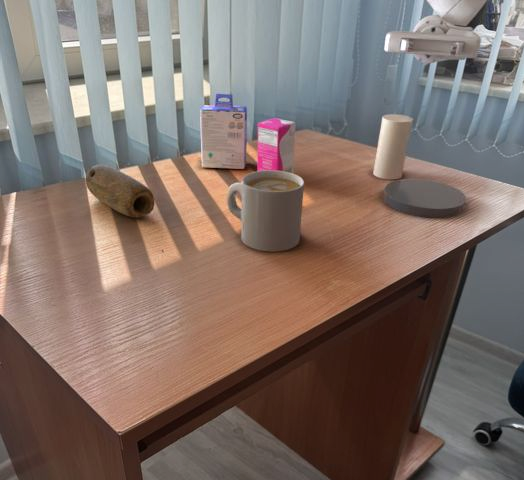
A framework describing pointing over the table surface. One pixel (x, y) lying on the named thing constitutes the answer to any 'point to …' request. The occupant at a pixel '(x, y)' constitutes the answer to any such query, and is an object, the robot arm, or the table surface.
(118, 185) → the stone weight
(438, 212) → the slate plate
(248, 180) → the coffee mug
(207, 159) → the ink cartridge box
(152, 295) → the table surface
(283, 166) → the supplement box
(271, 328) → the table surface
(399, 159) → the cream canister
